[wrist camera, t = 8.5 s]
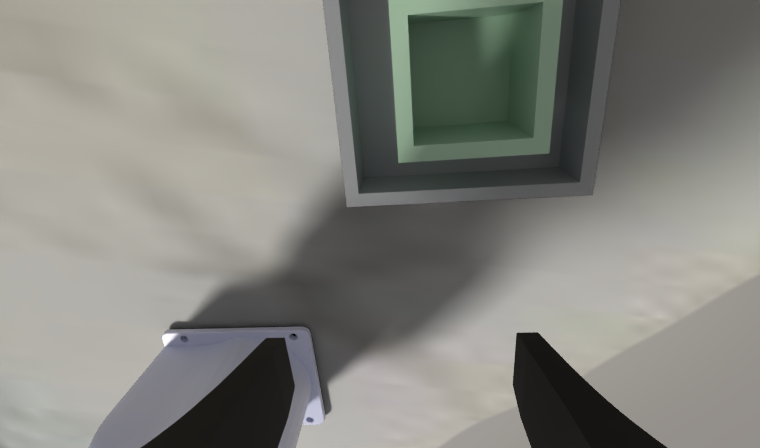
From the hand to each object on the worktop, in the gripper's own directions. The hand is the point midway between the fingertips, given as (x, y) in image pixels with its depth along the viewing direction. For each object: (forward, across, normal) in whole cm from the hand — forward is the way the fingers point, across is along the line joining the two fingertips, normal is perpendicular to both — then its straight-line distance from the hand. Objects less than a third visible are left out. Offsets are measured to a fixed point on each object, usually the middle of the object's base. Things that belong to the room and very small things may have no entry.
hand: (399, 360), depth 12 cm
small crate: (+9, -3, -8) cm, 13 cm away
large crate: (+10, -3, -8) cm, 13 cm away
